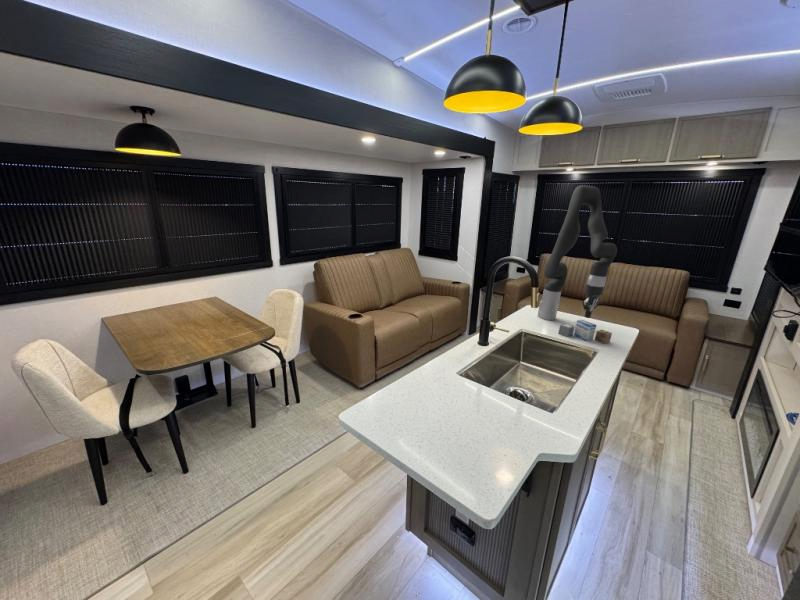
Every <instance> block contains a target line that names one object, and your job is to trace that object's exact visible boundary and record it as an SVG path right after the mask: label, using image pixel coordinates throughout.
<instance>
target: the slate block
mask: <svg viewBox="0 0 800 600" xmlns="http://www.w3.org/2000/svg"><path fill="white" fill-rule="evenodd" d="M575 327H576V326H574V325H571V324H568V323H563V324H562V323H561V324H560V325H559V328H558V335H561V336H563V337H566V338H569V337H572V336H574V331H575Z"/></svg>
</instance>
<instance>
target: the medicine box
mask: <svg viewBox="0 0 800 600" xmlns="http://www.w3.org/2000/svg"><path fill="white" fill-rule="evenodd" d="M574 327H575V328H574V332H573V337H576V338H578V339H581V340H583V341H584V342H585V341H586V342H591V341H593V340H594V338H595V334H596V333H595V332H596V329H597V324H595V323H592V322H590V321H587V320H585V319H577V320H576V323H575V326H574Z"/></svg>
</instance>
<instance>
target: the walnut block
mask: <svg viewBox="0 0 800 600" xmlns="http://www.w3.org/2000/svg"><path fill="white" fill-rule="evenodd" d="M595 332H596V333H595V335H594V341H596V342H598V343H601V344H602V345H603V344H604V345H606V344H608V343H611V339H612V335H613V332H611V331H608V330H604V329H599V330H596V331H595Z"/></svg>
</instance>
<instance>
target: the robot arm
mask: <svg viewBox="0 0 800 600" xmlns="http://www.w3.org/2000/svg"><path fill="white" fill-rule="evenodd" d="M568 205H569V206H568V210H567V212H566V215H565V218H564V222H563V223H562V226H561V229H560V231H559V233H558V237H557V239H556V242H555V245H554V247H553V249H552V252H551V254H550V255H549V258H548V260H547V262H546V264H545V266H544V270H543V274H544V277H545V278H546V279H549V281H548V282H546V283H545V284H544V286H543V292H542V293H543V294H542V296H541V297H542V298H541V300H540V301H539V306H538V312H537V317H539V318H541V319H543V320H547V321H555V320H557V315H558V310H559V306H560V300H561V294H562V290H563V288H564V287H565V283H566V279H567V277H568V267H567V265H566V263H565V262H562V259H563V258H564V256H565V255H566V254H567V253H568V252H569V251H570V250H571V249H572V248H573V247H574V245H575V244H576V242H577V240H578V238H579V236H580V233H581V225H580V220H579V214H580V211H581V207H582V206H588V209H589V210H590V215H589V218H588V220H587V221H588V222H587V230H588V233H589V236H590V253H591V255H592V256H593V258H596V259H599V260H598V261H596V262H593V263H592V264H591V267H590V270H589V273H588V277H587V281H586V286H585V289H584V292H585V293H586V294H587V295H586V297H585V300H583V301H582V306H583V310H585V314H584V318H587V319H590V318H591V317H592V313H593V311H594V310H595V309H596V308H597V306H598V304H599V303H600V301H601V298H599V297H600V296H602V295H603V294H604V289H605V286H606V280H607V277H608V276H607V275H608V271H609V268H610V266H611V265H612V263H613V261H614V260H615V257H616V256H617V253H618V247H617V246H616V244H615V243H612V242H603V241H604V240H606V239H607V238H608V236H609V234H608V230H607V227H606V223H605V221H604V217H603V216H604V215H603V207H602V206H603V205H602V198H601V192H600V189H599V188H598V187H597V186H594V185H586V184H585V185H583V184H580V185H578V186H576V187H575V189H574V190H573V193H572V195H571V197H570V201H569V204H568Z"/></svg>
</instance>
